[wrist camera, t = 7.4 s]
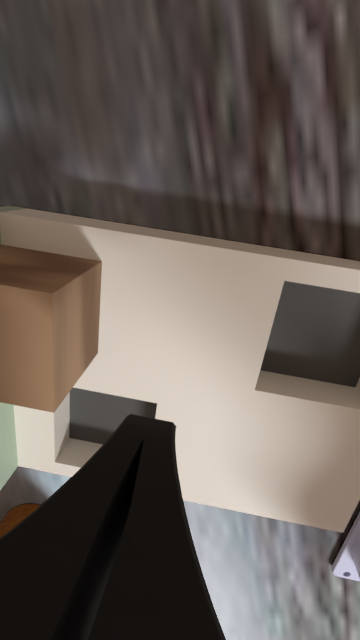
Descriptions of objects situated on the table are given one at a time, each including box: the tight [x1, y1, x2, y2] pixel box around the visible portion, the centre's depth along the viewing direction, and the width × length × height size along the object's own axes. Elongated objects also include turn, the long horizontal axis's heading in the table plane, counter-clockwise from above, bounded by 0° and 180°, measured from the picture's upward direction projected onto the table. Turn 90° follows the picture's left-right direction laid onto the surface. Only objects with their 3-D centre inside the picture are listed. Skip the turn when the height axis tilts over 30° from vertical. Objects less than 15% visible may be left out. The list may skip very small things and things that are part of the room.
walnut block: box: [0, 245, 102, 413], centre depth 15 cm, size 5×5×5 cm
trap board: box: [0, 206, 360, 533], centre depth 18 cm, size 22×16×4 cm
